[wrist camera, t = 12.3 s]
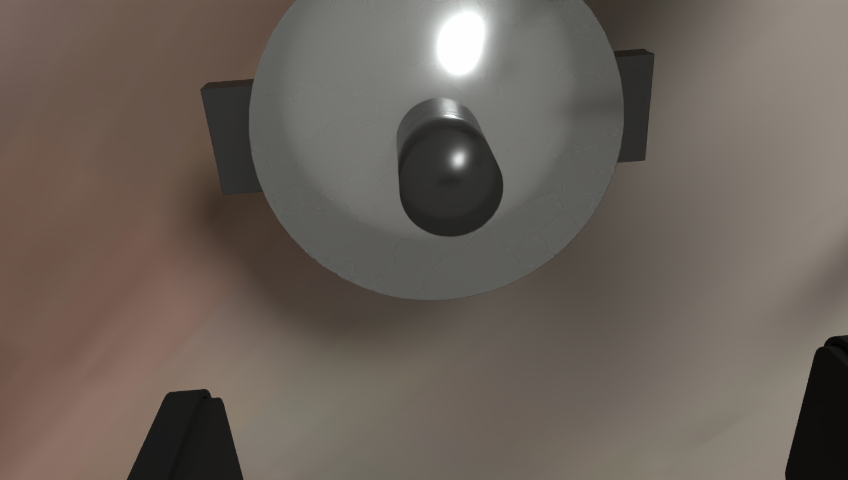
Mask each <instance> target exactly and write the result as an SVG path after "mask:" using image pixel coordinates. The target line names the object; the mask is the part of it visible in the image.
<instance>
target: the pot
mask: <svg viewBox="0 0 848 480" xmlns="http://www.w3.org/2000/svg"><path fill="white" fill-rule="evenodd" d="M613 53H614V56H615V59H616V63H617V66H618V70H619V74H620V77H621V85H622V92H623V100H624V126H623V133H622V141H621V148H620V152H619V156H618V159H617V163H618V162H630V161H642V160H645V154H646V143H647V132H648V120H649V109H650V98H651V87H652V76H653V65H654V54H653V53H651V52H649V51H647V50H645V49H635V50H622V51H613ZM253 81H254V79H248V80H235V81H222V82H209V83H207V84H206V85H205V86H204V87H203V88H201V89H200V90H201V95H202V100H203V104H204V109H205V113H206V118H207V123H208V127H209V132H210V136H211V141H212V146H213V150H214V155H215V159H216V164H217V169H218V173H219V178H220V182H221V187H222V192H223V195H225V194H237V193H249V192H261V191H263V190H262V187H261V185H260V183H259V180H258V177H257V173H256V170H255V166H254V162H253V158H252V153H251V145H250V137H249V106H250V100H251V93H252V86H253Z"/></svg>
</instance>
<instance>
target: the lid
mask: <svg viewBox="0 0 848 480" xmlns="http://www.w3.org/2000/svg"><path fill="white" fill-rule="evenodd" d="M623 126H624V100H623V92H622V85H621V77H620V74H619V70H618V66H617V63H616V59H615V56H614V53H613V50H612V48H611V46H610V43H609V41H608V39H607V37H606V34H605V32H604V30H603V28H602V27H601V25H600V24H599V22H598V20H597V19H596V17H595V15H594V14H593V12H592V11H591V9H590V8H589V7H588V5H587V4H586V3H585V2H584V1H583V0H296V1H295V2H294V3H293V4H292V5H291V7H290V8H289V9H288V10H287V11H286V12H285V14H284V15H283V17H282V19H281V20H280V22H279V23H278V25H277V26H276V28H275V30H274V31H273V33H272V34H271V36H270V38H269V41H268V43H267V45H266V47H265V49H264V52H263V54H262V56H261V58H260V61H259V64H258V68H257V71H256V75H255V78H254V81H253V86H252V93H251V100H250V106H249V137H250V145H251V153H252V158H253V162H254V166H255V170H256V173H257V177H258V180H259V183H260V185H261V187H262V190H263V192H264V195H265V197H266V199H267V201H268V203H269V205H270V207H271V208H272V210H273V212H274V214H275V215H276V217H277V219H278V220H279V222H280V223H281V224H282V226H283V227H284V228H285V230H286V231H287V232H288V233H289V235H290V236H291V237H292V239H293V240H294V241H295V242H296V243H297V244H298V245H299V246H300V247H301V248H302V249H303V250H304V251H305V252H306V253H307V254H308V255H310V256H311V257H312V258H314V259H315V260H316V261H317V262H319V263H320V264H321V265H322V266H324V267H325V268H327V269H328V270H330V271H331V272H333V273H335V274H336V275H338V276H340V277H341V278H343V279H345V280H347V281H349V282H352V283H354V284H356V285H358V286H360V287H363V288H365V289H368V290H372V291H375V292H378V293H381V294H384V295H389V296H394V297H399V298H404V299H416V300H450V299H457V298H464V297H470V296H474V295H478V294H482V293H486V292H489V291H493V290H495V289H498V288H500V287H503V286H505V285H508V284H511V283H513V282H515V281H517V280H519V279H521V278H522V277H524V276H526V275H528V274H530V273H532V272H533V271H535V270H536V269H538V268H539V267H541V266H542V265H544V264H545V263H547V262H548V261H550V260H551V259H552V258H553V257H554V256H555V255H557V254H558V253H559V252H560V251H561V250H562V249H564V248H565V247H566V246H567V245H568V244H569V243H570V242H571V241H572V239H573V238H574V237H575V236H576V235H577V234H578V233H579V232H580V231H581V230H582V228H583V227H584V226H585V224H586V223H587V222H588V220H589V219H590V217H591V216H592V215H593V213H594V212H595V210H596V208H597V207H598V205H599V203H600V201H601V199H602V198H603V196H604V194H605V192H606V190H607V188H608V185H609V183H610V180H611V178H612V175H613V173H614V171H615V167H616V163H617V159H618V156H619V152H620V148H621V141H622V133H623Z"/></svg>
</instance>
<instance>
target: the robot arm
mask: <svg viewBox="0 0 848 480" xmlns="http://www.w3.org/2000/svg"><path fill="white" fill-rule="evenodd" d="M785 478H786V480H848V335H844V336H834V337H830V338H829V339H828V340H827V341H826V342H825V344H824V347H820V348H818V349H817V350H816V353H815V355H814V359H813V363H812V367H811V371H810V375H809V379H808V383H807V387H806V391H805V395H804V399H803V403H802V407H801V411H800V415H799V419H798V423H797V426H796V430H795V434H794V438H793V442H792V446H791V450H790V454H789V458H788V462H787V466H786V471H785ZM127 480H243V476H242V472H241V469H240V465H239V461H238V457H237V453H236V449H235V446H234V442H233V438H232V434H231V430H230V426H229V422H228V419H227V415H226V411H225V407H224V404H223V401H222V399H221V398H212V397H211V395H210V393H209V391H208V390H206V389H200V390H189V391H177V392H169V393H168V394H167V395H166V396H165V398H164V400H163V402H162V404H161V406H160V409H159V411H158V413H157V415H156V417H155V419H154V422H153V424H152V426H151V428H150V430H149V433H148V435H147V437H146V439H145V441H144V443H143V446H142V448H141V450H140V452H139V454H138V457H137V459H136V461H135V463H134V465H133V467H132V470H131V472H130V474H129V476H128V478H127Z"/></svg>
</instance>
